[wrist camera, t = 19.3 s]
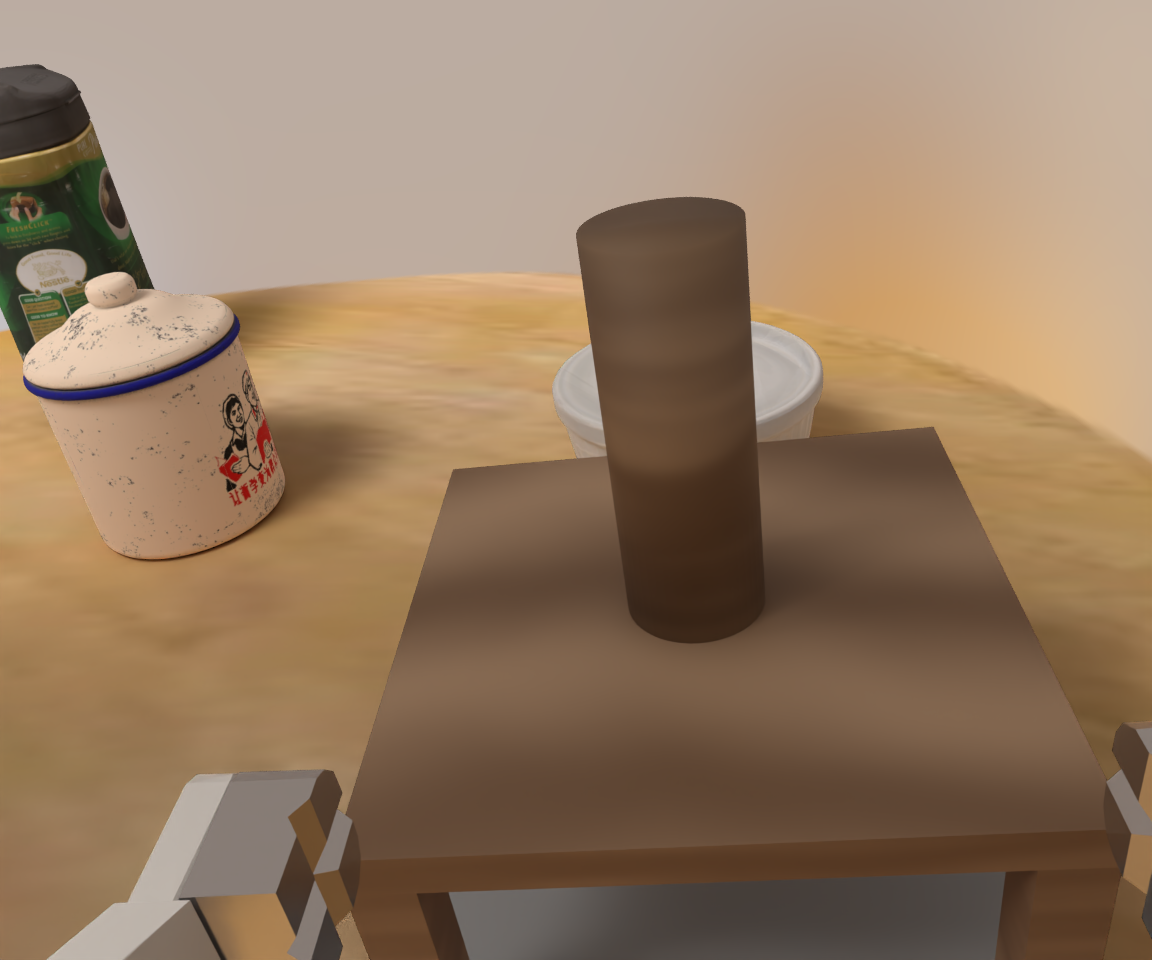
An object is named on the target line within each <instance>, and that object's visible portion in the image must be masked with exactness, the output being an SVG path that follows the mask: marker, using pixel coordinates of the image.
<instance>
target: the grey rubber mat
mask: <svg viewBox="0 0 1152 960" xmlns="http://www.w3.org/2000/svg"><path fill="white" fill-rule="evenodd" d="M1005 873H1006V872H984V873H957V874H929V875H902V876H875V877H848V878H821V879H794V880H767V881H740V882H713V883H686V884H659V885H631V886H604V887H577V888H550V889H523V890H496V891H469V892H449V896H450V899H451V902H452V905H453V908H454V911H455V915H456V918H457V921H458V924H459V927H460V931H461V934H462V937H463V940H464V943H465V946H466V950H467V953H468V956H469V959H470V960H995V954H996V946H997V938H998V930H999V922H1000V914H1001V905H1002V897H1003V889H1004V881H1005Z"/></svg>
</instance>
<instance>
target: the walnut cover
mask: <svg viewBox="0 0 1152 960" xmlns="http://www.w3.org/2000/svg"><path fill="white" fill-rule="evenodd" d="M745 220H746V219H745V212H744V211H743V210H742V209H741V208H740V207H739V206H737V205H735V204H733V203H730V202H727V201H723V200H718V199H712V198H700V197H677V198H664V199H656V200H649V201H643V202H638V203H633V204H628V205H625V206H621V207H617V208H614V209H611V210H608V211H606V212H603V213H601V214H598V215H596V216H594V217H592V218H591V219H589V220H587V221H586V222H584V223H583V224H582V225H581V226H580V227H579V229H578V230H577V233H576V239H577V246H578V253H579V259H580V267H581V274H582V281H583V289H584V296H585V303H586V310H587V317H588V324H589V331H590V338H591V345H592V353H593V360H594V367H595V374H596V381H597V388H598V395H599V402H600V409H601V416H602V424H603V431H604V438H605V445H606V452H607V456H600V457H589V458H577V459H566V460H555V461H544V462H532V463H521V464H510V465H498V466H487V467H476V468H465V469H453V472H452V475H451V478H450V481H449V485H448V488H447V491H446V494H445V498H444V501H443V504H442V507H441V510H440V514H439V517H438V520H437V523H436V526H435V530H434V533H433V536H432V539H431V542H430V546H429V549H428V552H427V555H426V558H425V562H424V565H423V568H422V571H421V575H420V578H419V581H418V584H417V587H416V591H415V594H414V597H413V600H412V603H411V607H410V610H409V613H408V616H407V619H406V623H405V626H404V629H403V632H402V635H401V639H400V642H399V645H398V648H397V652H396V655H395V658H394V661H393V664H392V668H391V671H390V674H389V677H388V680H387V684H386V687H385V690H384V693H383V696H382V700H381V703H380V706H379V709H378V713H377V716H376V719H375V722H374V725H373V729H372V732H371V735H370V738H369V741H368V745H367V748H366V751H365V754H364V757H363V761H362V764H361V767H360V770H359V773H358V777H357V780H356V783H355V786H354V790H353V793H352V796H351V799H350V802H349V806H348V809H347V812H346V816H347V817H349V818H350V819H351V820H353V823H354V826H355V829H356V831H357V834H358V839H359V846H360V853H361V865H360V881H359V887H358V891H357V895H356V899H355V903H354V907H353V909H352V910H351V913H352V916H353V918H354V921H355V923H356V926H357V928H358V931H359V933H360V936H361V938H362V941H363V943H364V946H365V948H366V951H367V953H368V956H369V959H370V960H470V959H469V956H468V953H467V950H466V946H465V943H464V940H463V937H462V934H461V931H460V927H459V924H458V921H457V918H456V915H455V911H454V908H453V905H452V902H451V899H450V896H449V892H469V891H496V890H523V889H550V888H577V887H604V886H631V885H659V884H686V883H713V882H740V881H767V880H794V879H821V878H848V877H875V876H902V875H929V874H957V873H984V872H1006V873H1005V881H1004V889H1003V897H1002V905H1001V914H1000V922H999V930H998V938H997V946H996V954H995V960H1103V956H1104V952H1105V947H1106V942H1107V937H1108V933H1109V928H1110V923H1111V919H1112V914H1113V909H1114V904H1115V900H1116V895H1117V890H1118V886H1119V881H1120V876H1121V872H1120V870H1119V868H1118V865H1117V863H1116V861H1115V859H1114V856H1113V854H1112V851H1111V847H1110V844H1109V841H1108V838H1107V834H1106V828H1105V819H1104V810H1103V803H1104V795H1105V788H1106V782H1107V779H1106V777H1105V775H1104V773H1103V771H1102V769H1101V767H1100V765H1099V763H1098V761H1097V759H1096V757H1095V755H1094V753H1093V751H1092V749H1091V747H1090V745H1089V743H1088V741H1087V739H1086V737H1085V735H1084V733H1083V731H1082V729H1081V727H1080V724H1079V722H1078V720H1077V718H1076V716H1075V714H1074V712H1073V710H1072V708H1071V706H1070V704H1069V702H1068V700H1067V698H1066V696H1065V694H1064V692H1063V690H1062V688H1061V686H1060V684H1059V682H1058V680H1057V678H1056V676H1055V674H1054V672H1053V669H1052V667H1051V665H1050V663H1049V661H1048V659H1047V657H1046V655H1045V653H1044V651H1043V649H1042V647H1041V645H1040V643H1039V641H1038V639H1037V637H1036V635H1035V633H1034V631H1033V629H1032V627H1031V625H1030V623H1029V621H1028V619H1027V617H1026V615H1025V612H1024V610H1023V608H1022V606H1021V604H1020V602H1019V600H1018V598H1017V596H1016V594H1015V592H1014V590H1013V588H1012V586H1011V584H1010V582H1009V580H1008V578H1007V576H1006V574H1005V572H1004V570H1003V568H1002V566H1001V564H1000V562H999V560H998V557H997V555H996V553H995V551H994V549H993V547H992V545H991V543H990V541H989V539H988V537H987V535H986V533H985V531H984V529H983V527H982V525H981V523H980V521H979V519H978V517H977V515H976V513H975V511H974V509H973V507H972V505H971V502H970V500H969V498H968V496H967V494H966V492H965V490H964V488H963V486H962V484H961V482H960V480H959V478H958V476H957V474H956V472H955V470H954V468H953V466H952V464H951V462H950V460H949V458H948V456H947V454H946V452H945V450H944V448H943V445H942V443H941V441H940V439H939V437H938V435H937V433H936V431H935V429H934V427H927V428H916V429H905V430H893V431H882V432H871V433H859V434H848V435H837V436H826V437H814V438H803V439H792V440H780V441H769V442H758V443H757V429H756V410H755V391H754V372H753V353H752V334H751V315H750V296H749V277H748V259H747V258H748V257H747V241H746V240H747V239H746V221H745Z"/></svg>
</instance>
